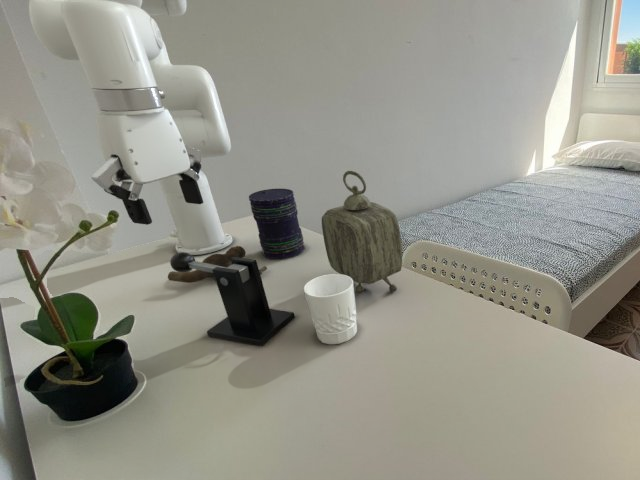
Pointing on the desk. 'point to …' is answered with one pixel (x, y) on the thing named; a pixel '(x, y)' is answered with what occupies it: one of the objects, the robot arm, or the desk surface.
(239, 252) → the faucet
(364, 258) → the tabletop clock
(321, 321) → the white cup
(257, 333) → the bracket
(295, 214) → the dark blue cylinder
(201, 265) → the tap lever
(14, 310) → the desk surface
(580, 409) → the desk surface
